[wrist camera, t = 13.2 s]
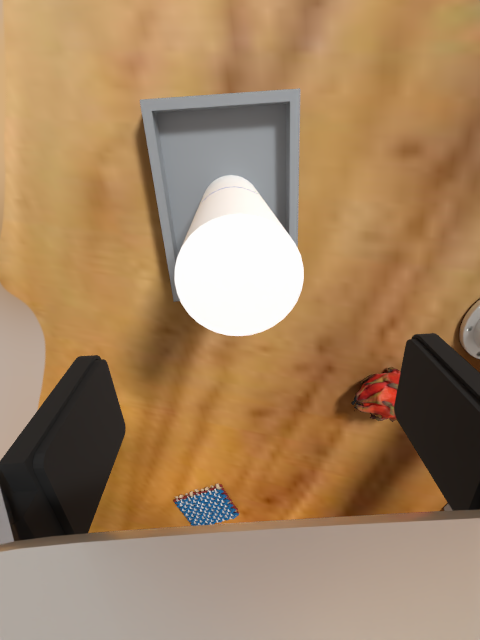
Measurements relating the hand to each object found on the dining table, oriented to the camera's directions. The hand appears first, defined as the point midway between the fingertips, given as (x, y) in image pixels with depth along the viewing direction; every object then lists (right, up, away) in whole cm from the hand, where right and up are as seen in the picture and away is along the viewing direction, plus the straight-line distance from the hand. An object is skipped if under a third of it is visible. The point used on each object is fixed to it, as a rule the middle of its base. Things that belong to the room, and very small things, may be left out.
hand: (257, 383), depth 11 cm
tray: (-2, +16, +31) cm, 35 cm away
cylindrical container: (-2, +16, +30) cm, 34 cm away
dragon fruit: (+23, -8, +45) cm, 51 cm away
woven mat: (-7, -35, +58) cm, 69 cm away
